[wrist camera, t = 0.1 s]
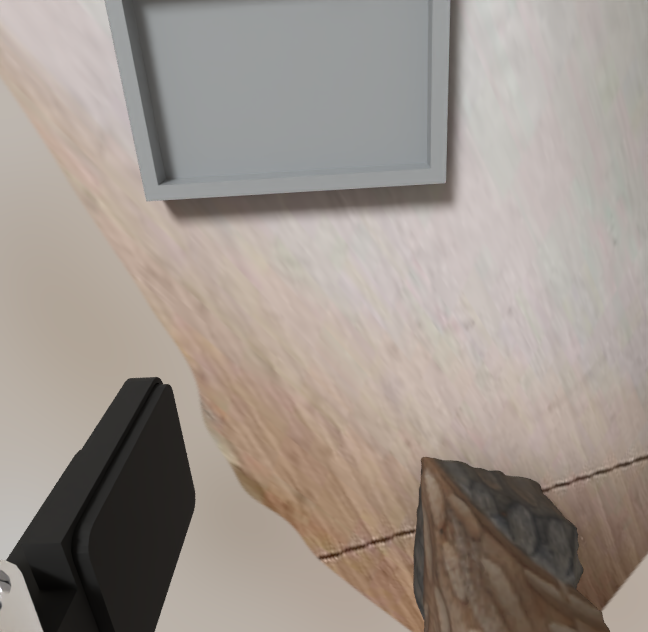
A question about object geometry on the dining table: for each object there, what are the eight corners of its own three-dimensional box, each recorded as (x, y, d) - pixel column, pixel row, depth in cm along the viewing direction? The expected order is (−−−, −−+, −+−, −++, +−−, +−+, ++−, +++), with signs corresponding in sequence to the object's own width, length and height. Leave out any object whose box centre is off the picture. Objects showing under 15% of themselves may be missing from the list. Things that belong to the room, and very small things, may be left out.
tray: (112, -37, 35) (95, -42, 32) (444, -66, 33) (451, -74, 31) (157, 192, 41) (146, 201, 38) (440, 174, 39) (446, 183, 37)
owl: (559, 480, 51) (676, 722, 33) (507, 575, 56) (583, 827, 38) (423, 451, 50) (466, 683, 32) (384, 551, 55) (402, 797, 37)
